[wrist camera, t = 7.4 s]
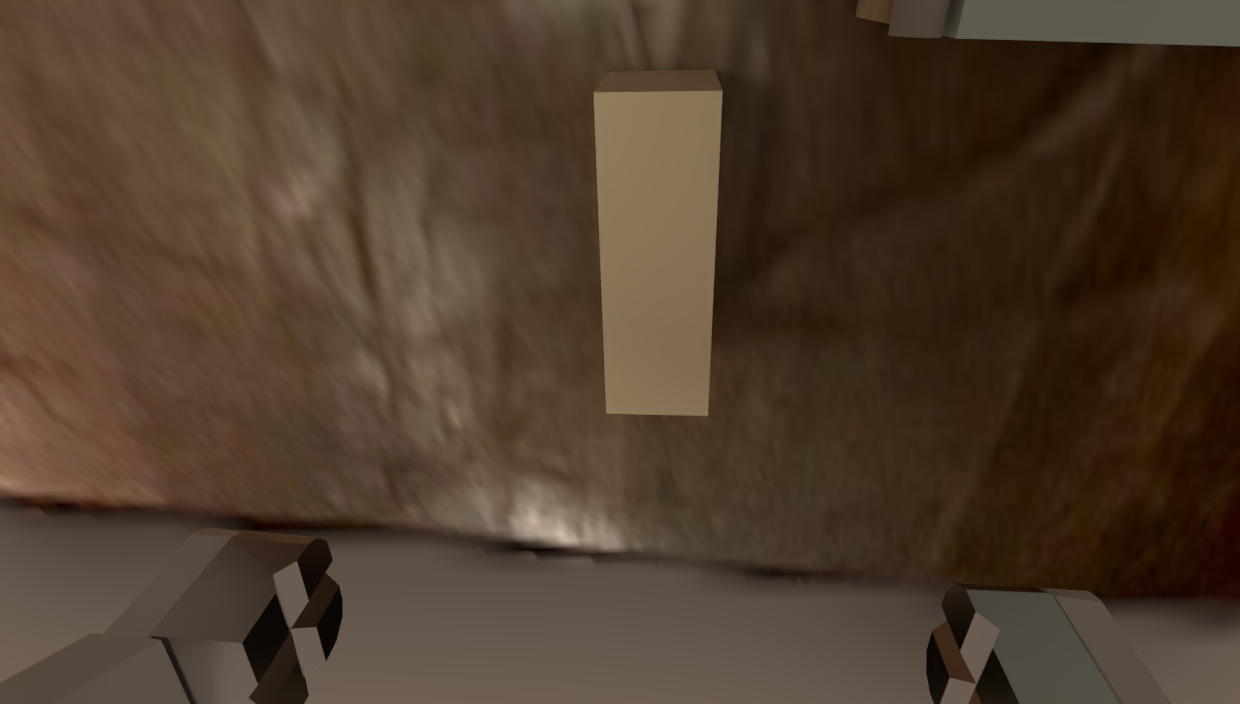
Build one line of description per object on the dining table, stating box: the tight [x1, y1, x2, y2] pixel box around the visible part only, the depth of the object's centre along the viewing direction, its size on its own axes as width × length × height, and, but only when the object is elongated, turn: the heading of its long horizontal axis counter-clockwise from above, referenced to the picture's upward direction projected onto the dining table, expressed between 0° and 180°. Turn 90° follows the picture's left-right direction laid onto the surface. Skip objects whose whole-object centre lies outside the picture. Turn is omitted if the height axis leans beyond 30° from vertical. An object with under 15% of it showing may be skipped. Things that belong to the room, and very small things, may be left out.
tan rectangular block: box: [594, 70, 723, 416], centre depth 20 cm, size 3×9×4 cm, turn 1°
